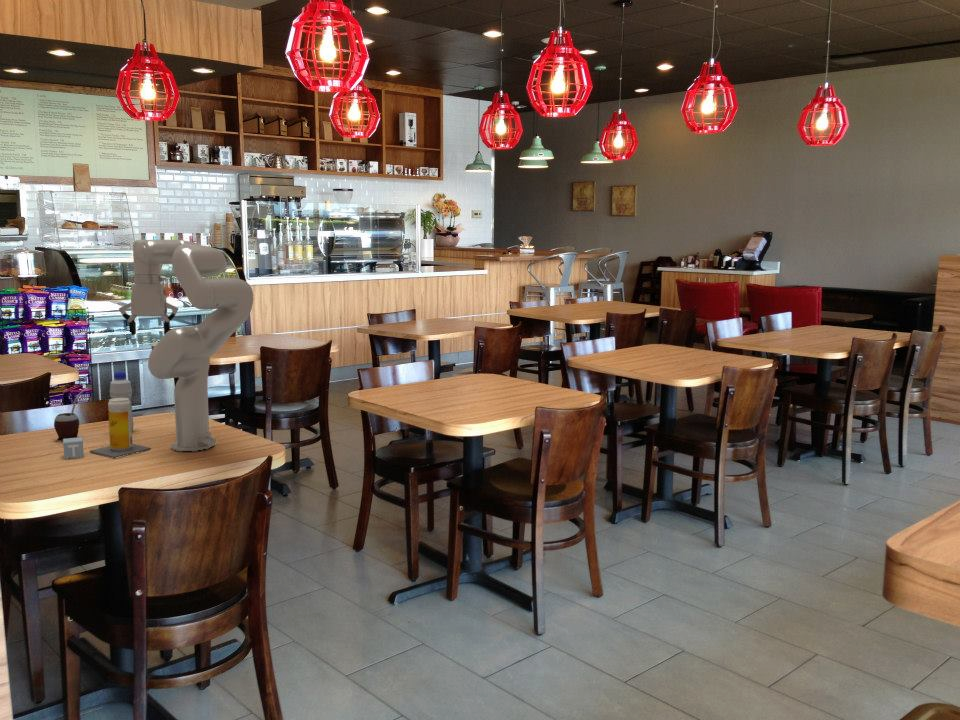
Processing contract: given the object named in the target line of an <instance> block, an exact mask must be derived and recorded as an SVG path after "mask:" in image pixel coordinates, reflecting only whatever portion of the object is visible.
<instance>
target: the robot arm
mask: <svg viewBox="0 0 960 720" xmlns="http://www.w3.org/2000/svg"><path fill="white" fill-rule="evenodd" d="M132 254H133V255H132V257H133V259H132V260H133V276H134V283H132V286H131V293H130V302H129V303H127V304H125V305H123V306H121V307H119V308H118V311H119V312H120V314H121V315H122V317H123V318H124V319H125V320H126V321H127V322H128V328H129V333H131V336H135V335H136V334H137V327H136V326H137V325H136V324H137V323H136V321H135V319H137V317H161V318H162V319H163V321H164V322H163V336H162V337H161V339H159V341H158V342H157V343H156V345H155V346H154V347H153V348H152V349H151V352H150V354H149V357H148V358H147V359H148V360H147V361H148V362H147V363H148V364H147V366H148V370H149V372H150V374H151V375H152V376H153V377H154V378H156V379H159V380H168V379H174V378H175V379H176V378H178V380H177V381H176V383H175V386H174V391H173V392H174V393H173V396H174V399H173V400H174V416H175V418H174V419H175V437H176V438H175V439H176V441H174V442H172V443H171V445H170V448H171V450H173V451H175V450H176V452H182V451H192V452H199V451H198V450H201V451H204V450H203V449H206V450H208V449H207V448H210V447H212V446H214V445H215V446H216V441H217V439H216V438H215V437H212V432H210V420H209V419H210V415H209V413H210V412H209V394H208V393H209V390H208V386H209V385H208V382H209V381H208V378H209V371H210V361H211V356H214V355H215V354H216V353H217V352H218V351H219V350H220V349H221V347H222V346H223V345H224V344H225V343H226V342H228V340H229V338H230V337H231V336H232V335H233V334H234V333H235V332H236V331H237V330H238V329H239V328H240V327H241V326H242V325H243V324H244V323H245V322H246V321H247V319H248V318H249V316H250V314H251V312H252V309H253V307H254V306H253V305H254V292H253V291H254V290H253V288H252V287H251V285H250V283H248V282H247V281H246V280H243V279H240V278H236V277H235V278H234V277H223V278H222V277H219V278H218V277H217V278H216V276H219V275H220V274H222V273H223V271H224V270H225V269H226V267H227V258H226V257H225V255H224V253H223V252H222V251H220V250H219V249H217V248H215V247H212V246H206V245H202V244H197V243H196V242H194V241H188V240H183V239H136V240H134V242H133V243H132ZM161 265H171V266H172V270H173V273H174V275H175V278H176V279H177V280H178V282H179V284H180V286H181V289H182V290H183V291H184V294H185V295H186V298H187V300H188V301H189V303H190V305H192V306H193V307H194V308H196V309H198V310H199V311H200V310H203V311H208V310H213V311H212V312H210V313H209V314H207V316H206V317H205V318H204V319H203V321H201V322H200V323H199V324H196V325H190V326H187V325H186V326H179V327H175V328H172V329H171V323H170V322H171V321H172V320H173V319H174V318H175V317H176V314H177V313H178V311H179V307H177V306H175V305H173V304H171V303H169V302H167V296H166V295H167V294H166V289H165V285H164V283H162V282H165V281H166V276H165V275H164V276H163V275H162V274H161ZM210 277H211V278H210ZM212 277H215V278H212ZM128 309H130V313H131V315H129V313H127V311H126V310H128ZM168 309H170V310H171V313H170V315H168V314H167V313H168ZM215 446H214V447H215ZM212 448H213V447H212ZM210 449H211V448H210Z"/></svg>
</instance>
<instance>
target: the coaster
mask: <svg viewBox="0 0 960 720" xmlns="http://www.w3.org/2000/svg"><path fill="white" fill-rule="evenodd" d="M150 449H151V450H152V447H150V446H146V445H140V444H136V443H132V447H131V448H130V449H129V450H125V451H114V450H112V448H110V445H109V446H104V447H100V448H95V449H90V450H89V453H90V452H91V454H94V453H95V454H94V455H98V454H99V456H102V455H104V456H103V457H106V456H109V457H108V458H110V457H113V458H112V459H114V458H115V459H117V458H116V457H119V456H123V455H127V454H131V455H133V454H132V453H135V454H137V453H136V452H139V453H142V452H141V451H143V452H147V451H150ZM146 450H147V451H146ZM127 456H128V455H127ZM123 457H124V456H123ZM119 458H120V457H119Z"/></svg>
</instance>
